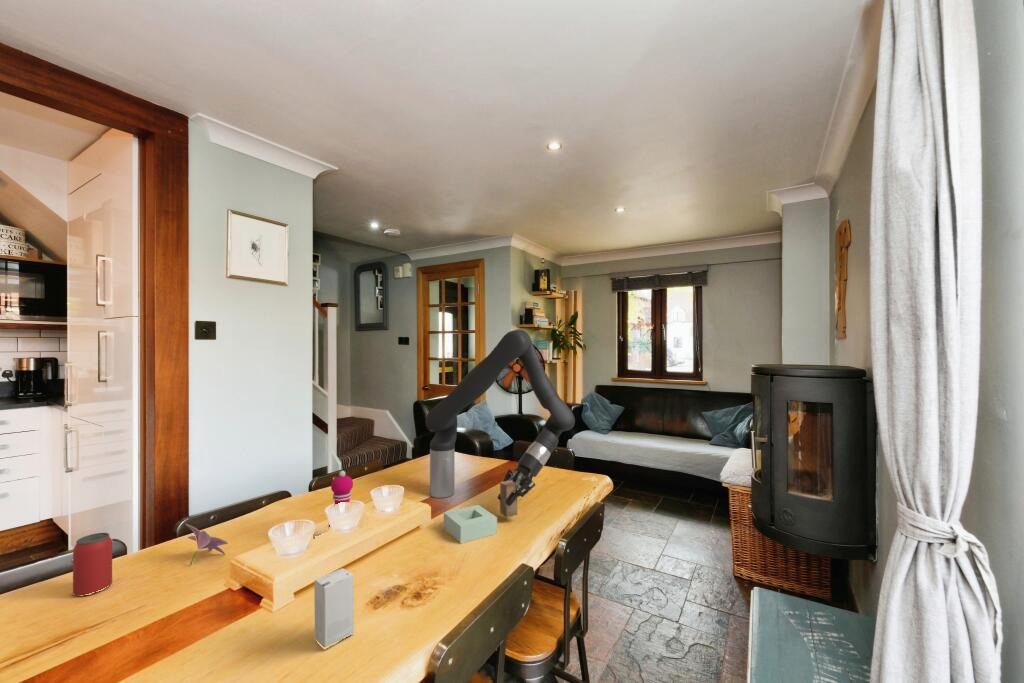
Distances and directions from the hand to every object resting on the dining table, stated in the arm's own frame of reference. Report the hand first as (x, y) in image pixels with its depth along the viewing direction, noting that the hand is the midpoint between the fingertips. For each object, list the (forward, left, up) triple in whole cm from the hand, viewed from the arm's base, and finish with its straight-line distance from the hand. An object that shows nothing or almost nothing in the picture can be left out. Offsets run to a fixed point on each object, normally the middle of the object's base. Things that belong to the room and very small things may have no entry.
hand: (503, 501), depth 138 cm
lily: (-22, -79, -7) cm, 82 cm away
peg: (0, +2, -4) cm, 5 cm away
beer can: (-19, -100, -7) cm, 102 cm away
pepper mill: (-15, -46, -7) cm, 49 cm away
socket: (0, -12, -6) cm, 14 cm away
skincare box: (+29, -56, -7) cm, 63 cm away
